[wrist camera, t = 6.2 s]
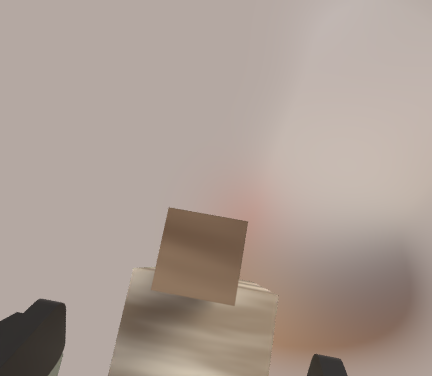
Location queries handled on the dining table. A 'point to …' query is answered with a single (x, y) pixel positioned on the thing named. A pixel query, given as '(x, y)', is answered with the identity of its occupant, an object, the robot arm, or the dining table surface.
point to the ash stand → (193, 332)
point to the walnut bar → (200, 256)
